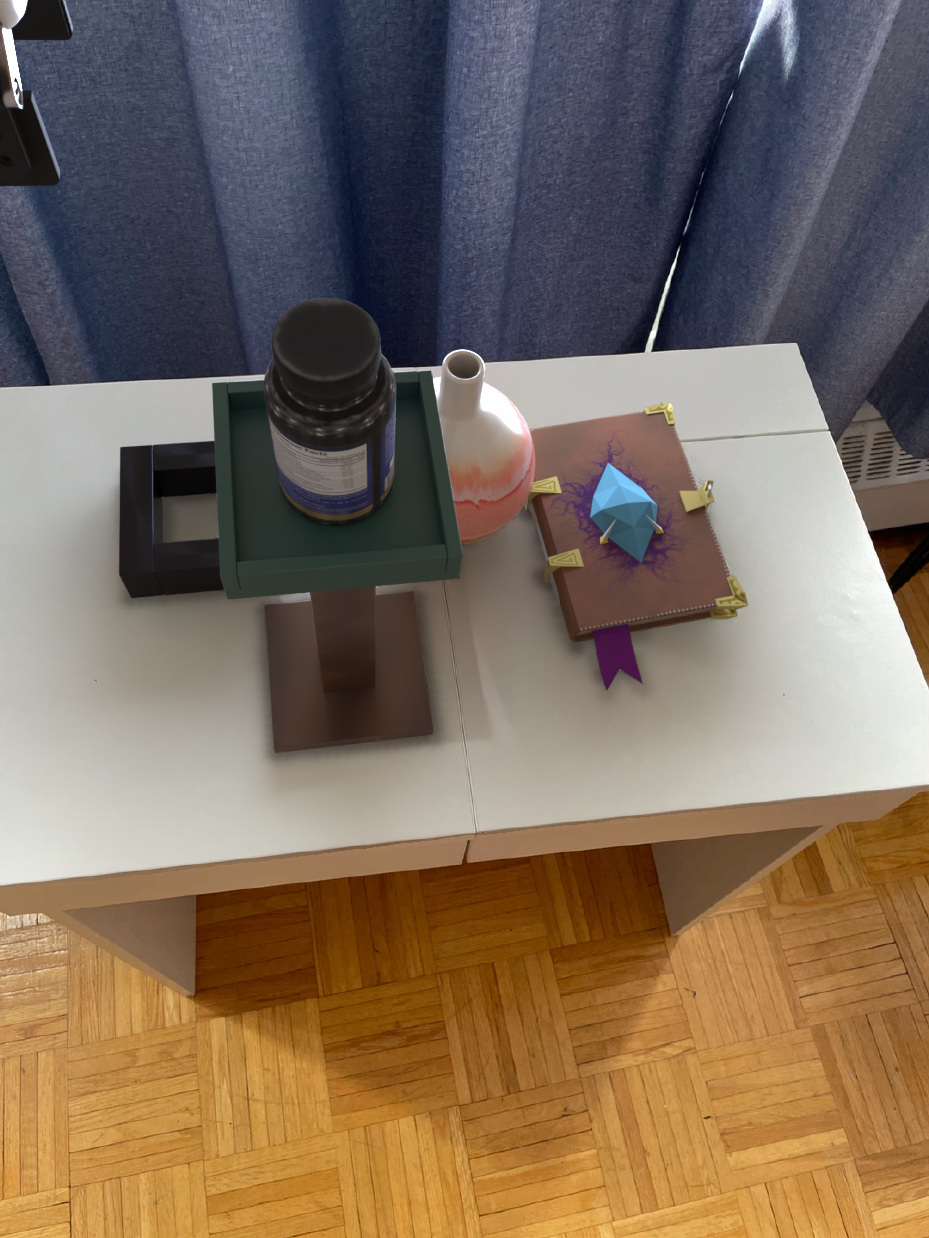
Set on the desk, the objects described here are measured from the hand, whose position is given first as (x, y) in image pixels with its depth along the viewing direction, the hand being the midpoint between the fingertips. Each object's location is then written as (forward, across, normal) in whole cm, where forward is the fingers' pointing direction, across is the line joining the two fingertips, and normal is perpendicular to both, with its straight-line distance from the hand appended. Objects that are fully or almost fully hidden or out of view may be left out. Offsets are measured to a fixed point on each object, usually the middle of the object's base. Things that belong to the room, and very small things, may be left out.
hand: (31, 105), depth 42 cm
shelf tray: (+14, +12, +12) cm, 22 cm away
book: (+40, +3, +37) cm, 54 cm away
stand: (+39, +12, +12) cm, 43 cm away
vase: (+40, -3, +22) cm, 45 cm away
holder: (+39, -2, +1) cm, 39 cm away
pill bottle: (+13, +12, +12) cm, 22 cm away
